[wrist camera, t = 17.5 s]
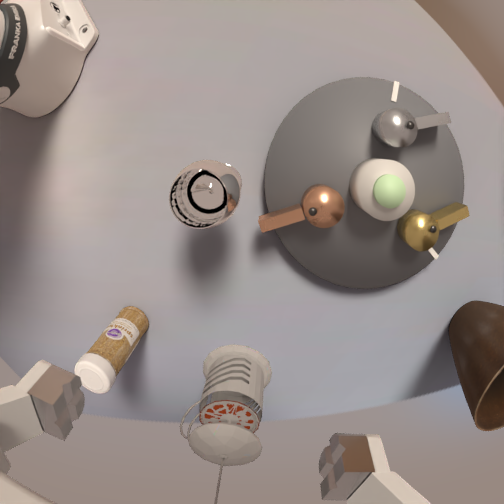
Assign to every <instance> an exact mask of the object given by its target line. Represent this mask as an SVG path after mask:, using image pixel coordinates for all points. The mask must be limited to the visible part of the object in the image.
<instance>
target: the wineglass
mask: <svg viewBox="0 0 504 504" xmlns="http://www.w3.org/2000/svg"><path fill="white" fill-rule="evenodd" d="M241 187H242V180H241V176H240V174H239V172H238V171H237V170H236V169H235V168H234V167H232V166H231V165H228V164H223V163H221V162H218V161H214V160H201V161H196V162H194V163H192V164H190V165H188V166H187V167H185V168H184V169H183V170H182V171H181V172H180V173H179V174H178V175H177V177H176V178H175V180H174V181H173V183H172V186H171V189H170V194H169V204H170V208H171V210H172V212H173V214H174V216H175V217H176V218H177V219H178V220H179V221H180V222H181V223H182V224H184V225H186V226H188V227H191V228H194V229H208V228H213V227H216V226H218V225H220V224H222V223H224V222H225V221H227V220H228V219H229V218H230V217H231V216H232V215H233V213H234V212H235V211H236V209H237V207H238V204H239V201H240V190H241Z"/></svg>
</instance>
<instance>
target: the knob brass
mask: <svg viewBox="0 0 504 504" xmlns="http://www.w3.org/2000/svg"><path fill="white" fill-rule="evenodd" d="M468 216H469V211H468V207H467V206H466V205H463V204H461V203H458V202H455V203H452V204H450V205H448V206H446V207H444V208H442V209H440V210H437V211H435V212H433V213H431V214H429V215H428V214H426V213H424V212H422V211H419V210H417V209H411V210H408V211H407V212H406V213H405V214H404V215H403V216H402V217H400V219H399V221H398V225H397V231H398V234H399V237H400V238H401V239H402V240H403V241H404V242H405V243H407V244H408V245H409V246H411V247H412V248H413V249H415V250H417V251H427V250H429V249H430V248H432V247H433V246H434V245H435V243H436V242H437V239H438V236H439V230H442V229H444V228H446V227H448V226H450V225H452V224H454V223H456V222H458V221H460V220H462V219H464V218H466V217H468Z"/></svg>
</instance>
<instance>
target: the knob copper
mask: <svg viewBox="0 0 504 504" xmlns="http://www.w3.org/2000/svg"><path fill="white" fill-rule="evenodd" d="M344 209H345V205H344V201H343V198H342V197H341V195H340V194H339V193H338V192H337V191H336V190H334V189H332V188H331V187H329V186H327V185H325V184H315V185H312V186H310V187H309V188H308V189H307V190H306V191H305V192H304V194H303V196H302V199H301V205H300V204H296V205H293V206H290V207H286V208H283V209H280V210H277V211H274V212H270V213H267V214H264V215H261V216H259V220H258V222H259V225H260V228H261V231H262V233H263V232H266V231H270V230H273V229H276V228H279V227H283V226H286V225H289V224H292V223H296V222H299V221H302V220H305V217H304V214H305V216H306V218H307V219H308V221H309V222H310V223H311V224H312V225H314V226H316V227H319V228H329V227H332V226H334V225H336V224H337V223H338V222H339V221H340V220H341V218H342V216H343V214H344ZM303 212H304V214H303Z"/></svg>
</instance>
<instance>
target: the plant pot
mask: <svg viewBox="0 0 504 504" xmlns="http://www.w3.org/2000/svg"><path fill="white" fill-rule="evenodd" d="M449 337H450V343H451V348H452V353H453V358H454V362H455V366H456V369H457V373H458V376H459V380H460V383H461V386H462V389H463V392H464V395H465V398H466V401H467V403H468V406H469V409H470V411H471V414H472V416H473V419H474V422H475V425H476V427H477V428H478V429H480V430H483V431H492V430H497V429H499V428H502V427H504V306H501V305H497V304H493V303H489V302H483V301H471V302H469V303H466V304H465V305H463V306H462V307H461V308H460V309H459V310H458V311H457V312H456V314H455V315H454V316H453V318H452V320H451V323H450V326H449Z"/></svg>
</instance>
